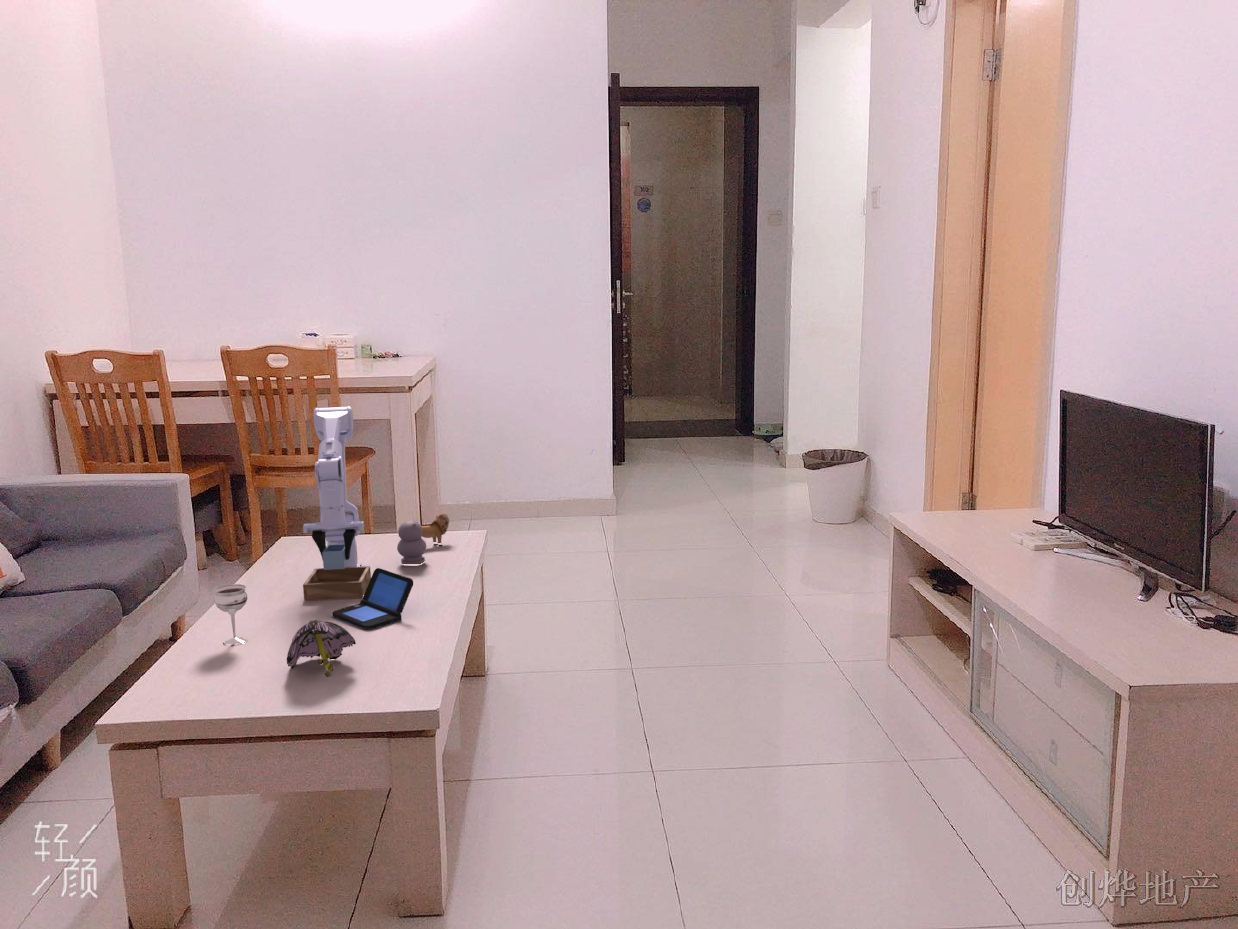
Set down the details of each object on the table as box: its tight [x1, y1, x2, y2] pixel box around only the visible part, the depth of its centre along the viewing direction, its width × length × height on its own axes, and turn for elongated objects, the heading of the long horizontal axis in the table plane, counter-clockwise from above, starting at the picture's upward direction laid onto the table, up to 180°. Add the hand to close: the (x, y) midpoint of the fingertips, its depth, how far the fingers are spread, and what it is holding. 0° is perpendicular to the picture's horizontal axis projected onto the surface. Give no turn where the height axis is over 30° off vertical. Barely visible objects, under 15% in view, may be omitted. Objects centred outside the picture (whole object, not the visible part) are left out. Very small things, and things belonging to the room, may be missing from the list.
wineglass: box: [213, 583, 248, 645], centre depth 221 cm, size 7×7×12 cm
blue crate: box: [322, 544, 349, 570], centre depth 255 cm, size 7×5×4 cm
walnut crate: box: [302, 565, 372, 601], centre depth 257 cm, size 14×14×4 cm
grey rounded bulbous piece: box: [396, 518, 427, 564], centre depth 279 cm, size 8×8×12 cm
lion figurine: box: [421, 513, 450, 544], centre depth 296 cm, size 15×5×9 cm, turn 131°
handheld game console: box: [331, 567, 414, 631], centre depth 236 cm, size 16×13×9 cm
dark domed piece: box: [286, 619, 357, 677], centre depth 205 cm, size 14×12×15 cm
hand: (336, 559), depth 255 cm, fingers closed on blue crate, 5 cm apart
